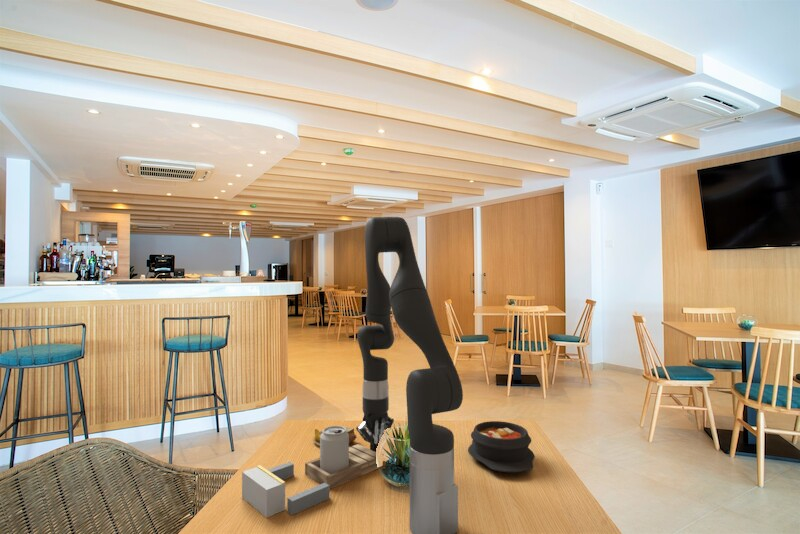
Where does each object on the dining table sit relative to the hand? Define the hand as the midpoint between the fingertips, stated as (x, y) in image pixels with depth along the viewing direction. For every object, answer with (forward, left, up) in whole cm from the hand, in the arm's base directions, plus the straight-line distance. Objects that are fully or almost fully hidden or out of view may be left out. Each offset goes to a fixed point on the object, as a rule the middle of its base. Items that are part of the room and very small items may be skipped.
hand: (375, 454), depth 124 cm
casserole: (-25, -26, -1) cm, 36 cm away
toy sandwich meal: (+19, +1, -2) cm, 19 cm away
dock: (0, +29, -1) cm, 29 cm away
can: (0, +14, -1) cm, 14 cm away
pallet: (0, +11, -1) cm, 11 cm away
